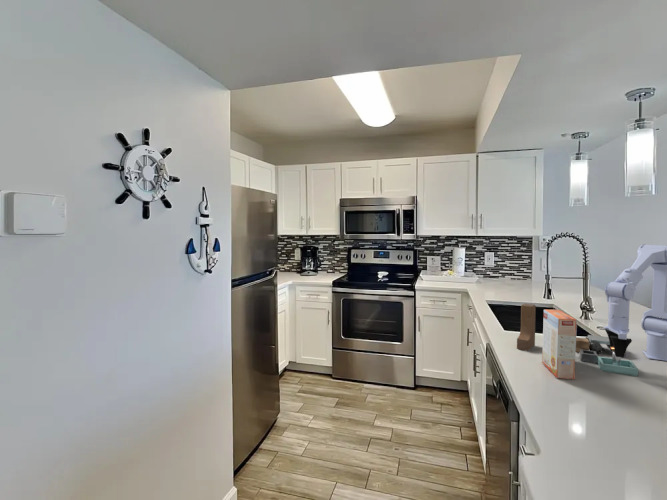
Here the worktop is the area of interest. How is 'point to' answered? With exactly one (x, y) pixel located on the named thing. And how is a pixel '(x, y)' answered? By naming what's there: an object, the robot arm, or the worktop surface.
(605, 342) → the trolley
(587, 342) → the block
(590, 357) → the bracket
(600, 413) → the worktop surface
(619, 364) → the pin
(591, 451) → the worktop surface
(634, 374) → the tray
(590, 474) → the worktop surface
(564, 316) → the cracker box
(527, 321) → the wooden block
